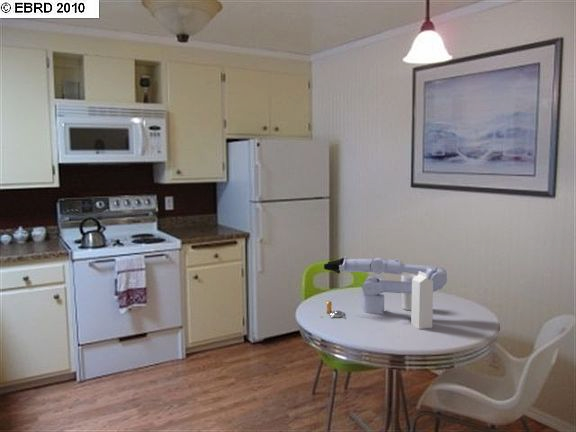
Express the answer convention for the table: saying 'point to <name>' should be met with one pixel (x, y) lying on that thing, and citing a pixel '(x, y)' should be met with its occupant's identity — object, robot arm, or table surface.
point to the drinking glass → (407, 297)
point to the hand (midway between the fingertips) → (326, 265)
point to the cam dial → (334, 313)
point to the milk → (422, 301)
